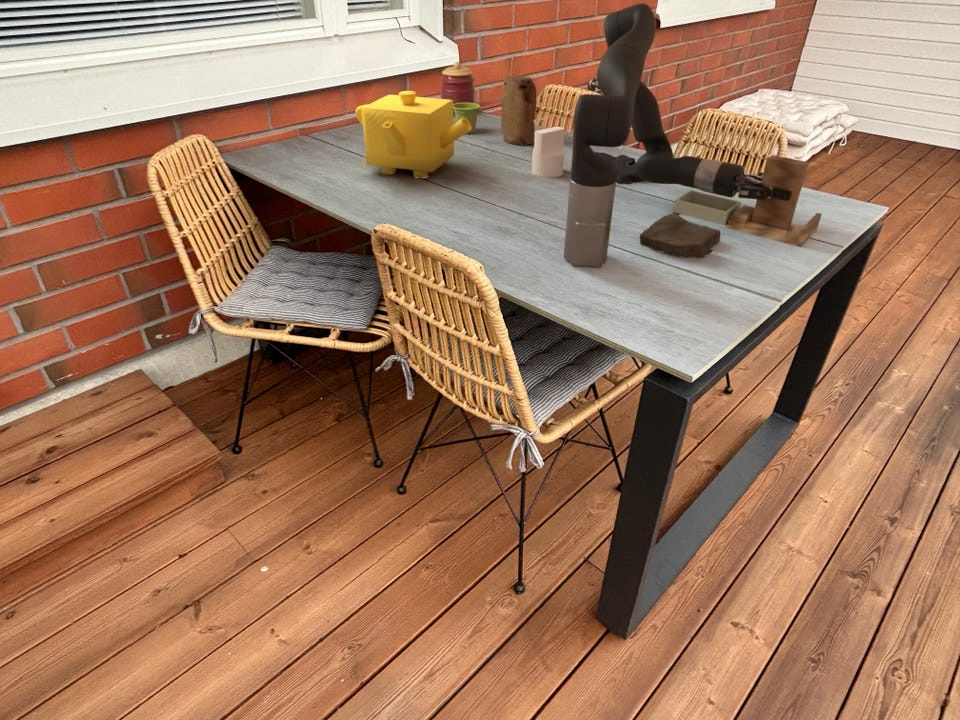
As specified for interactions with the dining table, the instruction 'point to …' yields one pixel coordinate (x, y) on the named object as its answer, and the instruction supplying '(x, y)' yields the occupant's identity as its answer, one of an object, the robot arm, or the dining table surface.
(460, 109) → the plant pot
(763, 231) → the rack
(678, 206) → the tray
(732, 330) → the dining table surface
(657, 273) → the dining table surface
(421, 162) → the cube teapot
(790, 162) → the board
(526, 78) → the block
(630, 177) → the dark slate chunk
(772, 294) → the dining table surface
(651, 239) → the brown irregular slab
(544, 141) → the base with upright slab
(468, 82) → the canister
